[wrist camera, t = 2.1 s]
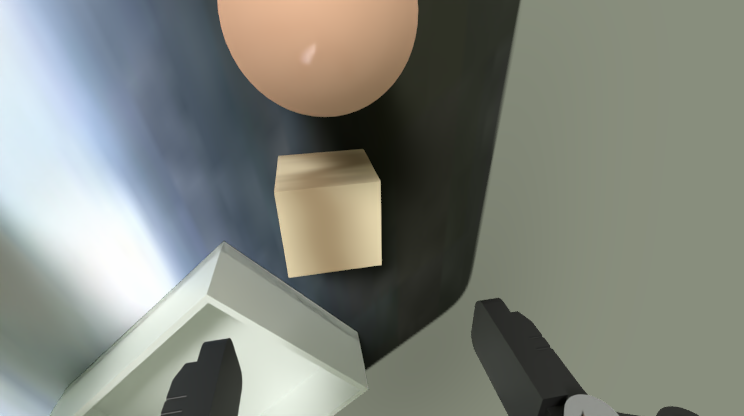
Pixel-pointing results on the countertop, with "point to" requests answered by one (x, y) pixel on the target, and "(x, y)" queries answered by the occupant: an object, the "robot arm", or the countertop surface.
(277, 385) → the grey tote
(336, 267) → the beech cube
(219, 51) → the countertop surface
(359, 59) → the terracotta cylinder
